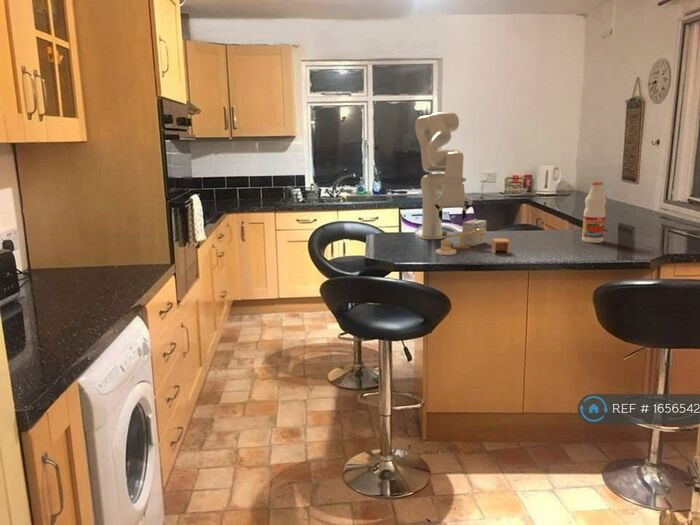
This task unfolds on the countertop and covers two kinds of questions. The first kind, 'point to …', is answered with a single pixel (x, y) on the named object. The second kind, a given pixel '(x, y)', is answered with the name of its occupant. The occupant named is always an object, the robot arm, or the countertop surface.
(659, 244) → the countertop surface
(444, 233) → the balance
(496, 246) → the reddish brown box
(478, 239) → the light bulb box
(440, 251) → the dish
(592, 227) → the fruit juice
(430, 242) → the countertop surface
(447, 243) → the block
